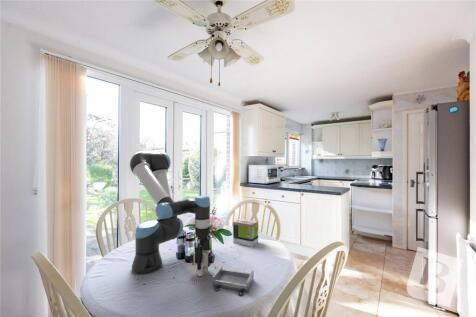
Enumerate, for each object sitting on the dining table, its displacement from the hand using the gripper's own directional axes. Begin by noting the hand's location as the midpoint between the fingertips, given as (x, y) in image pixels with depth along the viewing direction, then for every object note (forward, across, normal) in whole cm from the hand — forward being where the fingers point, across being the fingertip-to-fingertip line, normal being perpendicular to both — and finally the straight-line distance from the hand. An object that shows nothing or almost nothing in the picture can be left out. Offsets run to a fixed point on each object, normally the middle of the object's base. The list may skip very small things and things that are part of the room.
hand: (202, 272), depth 110 cm
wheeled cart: (0, -6, -18) cm, 19 cm away
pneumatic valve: (+1, 0, 0) cm, 1 cm away
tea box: (+1, +45, -11) cm, 46 cm away
